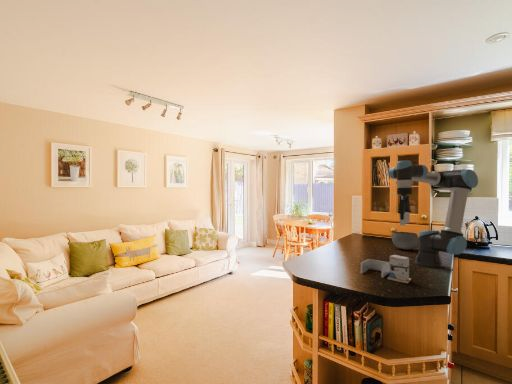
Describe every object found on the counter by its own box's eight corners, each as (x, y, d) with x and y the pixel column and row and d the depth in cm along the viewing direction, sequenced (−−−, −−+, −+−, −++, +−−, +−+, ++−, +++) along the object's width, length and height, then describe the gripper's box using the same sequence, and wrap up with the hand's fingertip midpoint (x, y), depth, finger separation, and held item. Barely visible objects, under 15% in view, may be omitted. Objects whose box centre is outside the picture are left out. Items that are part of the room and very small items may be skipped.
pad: (391, 275, 153) (391, 274, 153) (411, 279, 147) (411, 278, 147) (387, 279, 146) (387, 278, 146) (407, 283, 140) (407, 282, 140)
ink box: (388, 276, 148) (389, 255, 148) (393, 275, 151) (393, 254, 151) (404, 281, 141) (405, 258, 142) (409, 279, 144) (409, 257, 145)
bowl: (422, 250, 232) (423, 233, 232) (411, 252, 220) (411, 234, 221) (399, 246, 249) (399, 230, 249) (386, 248, 237) (387, 231, 238)
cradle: (368, 268, 168) (368, 258, 168) (390, 272, 160) (390, 262, 160) (360, 273, 157) (360, 262, 157) (383, 277, 149) (383, 266, 149)
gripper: (401, 187, 168) (401, 221, 168) (392, 187, 148) (392, 225, 148) (415, 187, 163) (415, 222, 163) (407, 187, 144) (408, 226, 144)
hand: (404, 224), depth 156 cm, fingers open, 13 cm apart
